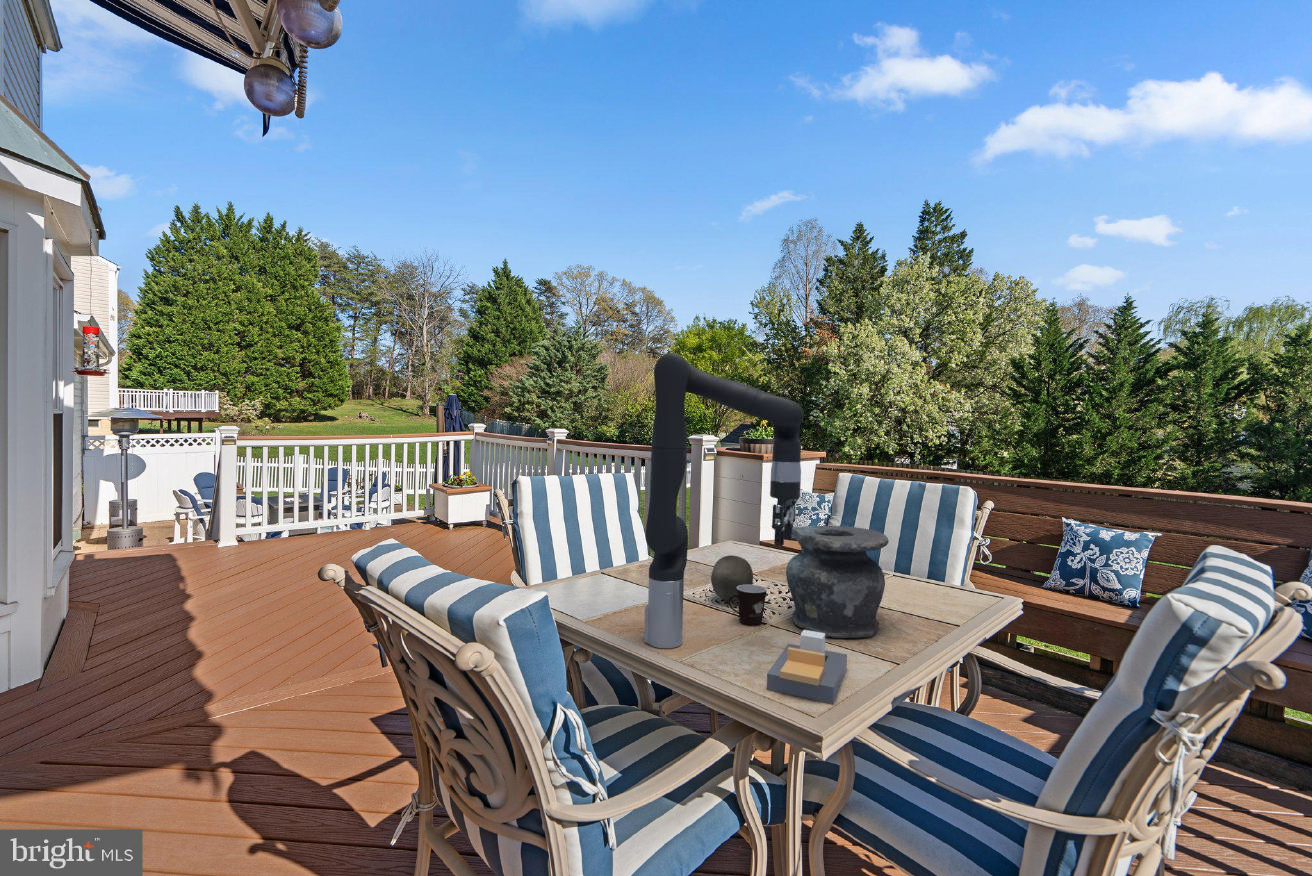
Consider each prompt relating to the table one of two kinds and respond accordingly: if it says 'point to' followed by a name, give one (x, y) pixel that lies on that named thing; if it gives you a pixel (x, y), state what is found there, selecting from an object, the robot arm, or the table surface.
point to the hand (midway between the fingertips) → (783, 542)
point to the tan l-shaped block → (803, 666)
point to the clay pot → (836, 580)
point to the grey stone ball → (730, 576)
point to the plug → (812, 641)
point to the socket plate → (822, 692)
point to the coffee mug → (750, 604)
